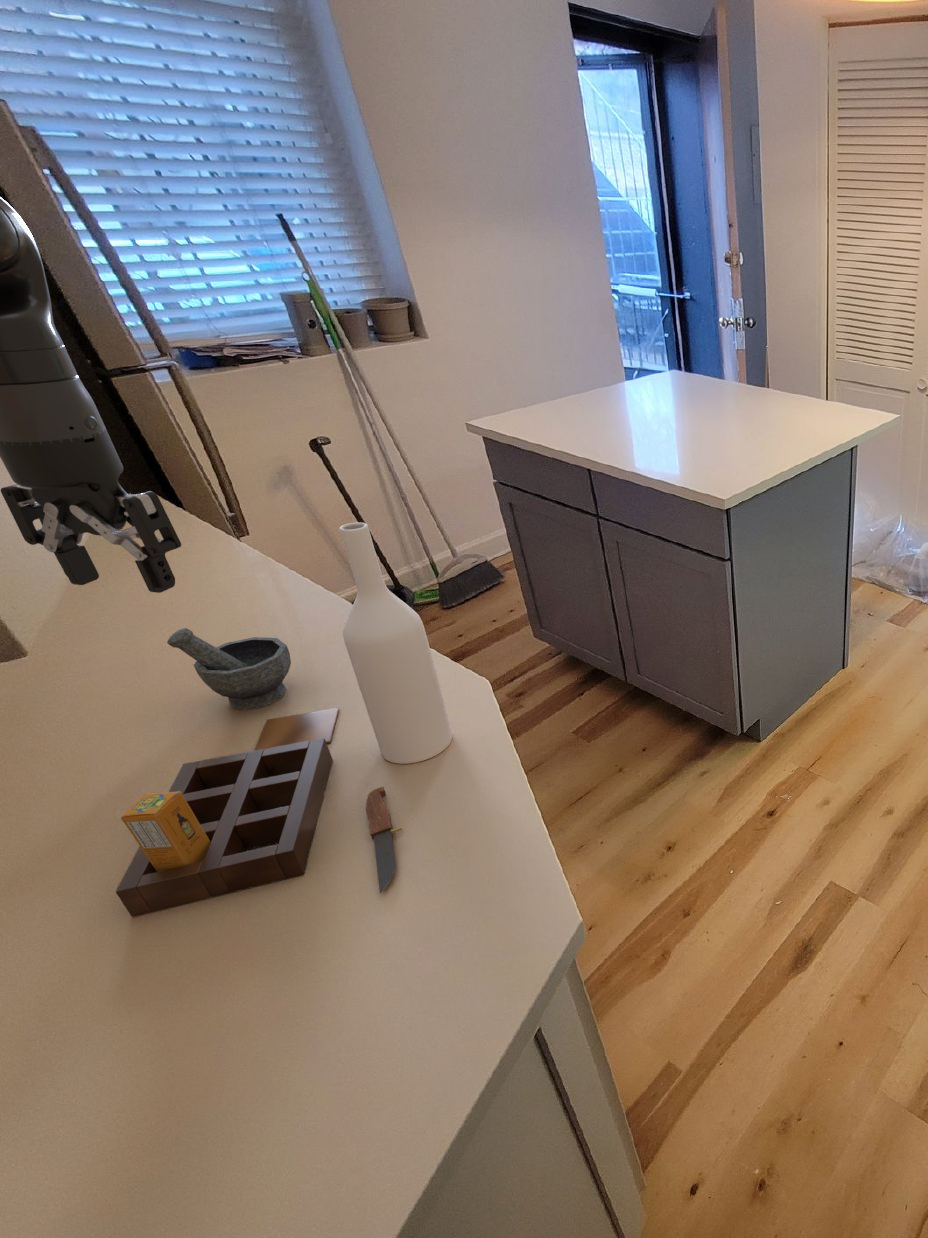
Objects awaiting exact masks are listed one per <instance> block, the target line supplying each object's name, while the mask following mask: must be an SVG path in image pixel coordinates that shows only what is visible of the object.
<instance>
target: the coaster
mask: <svg viewBox="0 0 928 1238" xmlns="http://www.w3.org/2000/svg"><path fill="white" fill-rule="evenodd" d="M339 713H340V707H334V708H328V709H327V708H326V709H322V710H315V711H309V712H304V713H298V714H297V713H296V714H292V715H285V716H280V717H275V718H274V717H273V718H269V719H266V721H265V724H264V726H263V729H262V731H261V733H260V736H259V738H258V740H257V743H256V746H255V748H254V750H253V751H256V750H261V749H267V748H272V747H278V746H283V745H289V744H294V743H299V742H305V741H311V740H316V739H322V738H325V741H326V743H327V745H330V744H331V743H332V739H333V735H334V732H335V728H336V724H337V720H338V717H339Z"/></svg>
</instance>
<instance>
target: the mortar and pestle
mask: <svg viewBox="0 0 928 1238" xmlns="http://www.w3.org/2000/svg"><path fill="white" fill-rule="evenodd" d="M167 644H168V645H169V646H170V647H172V648H176V649H179V650H181V652H184V653H185V654H186V655H188V656H189V657H190V658H192V659H194V660H195V662H194V663H193V667H194V669H195V671H196V674H197V675H198V676H199V678H200V679H201V680H202V682H203V683H204V684H205V685H206V686H207V687H208V688H209V689H210V690H212V691H213V692H215V693H216V694H218V695H220V696H221V697H224V698H228V701H229V704H230V705H231V706H232V707H233V708H234V709H236V710H253V709H258V708H262V707H266V706H269V705H271V704H273V703H275V702H276V701H279V700H280V699H282V698H283V697H284V696H285V694H286V692H287V688H286V686H285V684H284V683H283V681H284V680H285V679H286V677H287V675H288V674H289V672H290V671H289V670H290V668H291V664H292V661H291V659H292V658H291V653H290V650H289V648H288V645H287V644H286V643H285V642H284V641H282V640H281V639H279V638H278V637H262V636H261V637H260V636H259V637H258V636H254V637H253V636H252V637H249V638H243V639H238V640H233V641H229V642H226V643H223V644H221V645H218V646H214V645H213V644H211V643H209V642H207V641H206V640H204V639H202V638H201V637H198V636H196V635H195V634H194V633H193V631H192V630H191V629H189V628H188V627H182V628H180V629H178V630H176V631H175V632H173V633H172V634H171V635H170V636H169V638H168V639H167Z"/></svg>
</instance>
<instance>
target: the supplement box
mask: <svg viewBox="0 0 928 1238" xmlns="http://www.w3.org/2000/svg"><path fill="white" fill-rule="evenodd" d="M120 819H121V820H122V822H123V823H124V825H125V826H126V828H127V829H128V831H129V832H130V834H131V835H132V836H133V838H134V840H135V842H136V843H137V845H138V846H139V847H141V849H142V850H143V852H144V853H145V855H146V856H147V858H148V859H149V861H150V862H151V864H152V865H153V866H154V868H155V869H156V871H157V872H160V871H164V870H168V869H173V868H177V867H181V866H186V865H190V864H194V863H199V862H203V860H204V857H205V855H206V853H207V850H208V848H209V845H210V843H211V842H210V840H209V839H208V837H207V835H206V833H205V832H204V830H203V828H202V827H201V825H200V823H199V822H198V820H197V818H196V817H195V815H194V813H193V811H192V810H191V808H190V806H189V805H188V803H187V801H186V800H185V798H184V796H183V795H182V793H181V792H180V791H178V792H169V791H167V792H166V791H165V792H164V791H163V792H153V793H152V792H151V793H144V794H143V795H142V796H141V797H140V798H139V799H138V800H137V801H136V802H135V803H134V804H133V805H132V806H130V808H128V809H127V810H126V811H125V812H124V813H123V814H122V815H121V816H120Z"/></svg>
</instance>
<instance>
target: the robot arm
mask: <svg viewBox="0 0 928 1238" xmlns="http://www.w3.org/2000/svg"><path fill="white" fill-rule="evenodd" d="M52 307H53V306H52V301H51V295H50V291H49V285H48V281H47V276H46V273H45V268H44V264H43V260H42V257H41V254H40V251H39V248H38V245H37V243H36V241H35V238H34V237H33V235H32V233H31V231H30V229H29V228H28V226H27V225H26V223H25V222H24V220H23V219H22V217H21V216H20V215H19V213H18V212H17V211H16V210H15V209H14V208H13V207H12V206H11V205H10V204H9V203H8V202H7V201H6V200H4V199H3V198H2V197H0V459H1V461H2V463H3V466H4V467H5V469H6V471H7V473H8V475H9V476H10V478H11V480H12V481H13V483H15V484H11V485H8V486H3V487H1V488H0V494H1V495H2V497H3V499H4V501H5V503H6V505H7V507H8V510H9V511H10V513H11V516H12V518H13V520H14V522H15V524H16V526H17V527H18V530H19V532H20V534H21V536H22V538H23V539H24V541H25V542H26V543H27V544H29V545H32V546H35V545H42V546H43V547H44V549H45V550H46V551H48V552H49V553H53V554H54V556H55V559H56V560H57V563H58V564H59V565H60V567H61V569H62V571H63V573H64V575H65V576H66V577H67V579H68V580H69V582H70V583H71V584H72V585H77V586H85V585H87V584H89V583H92V582H94V581H97V580H99V577H100V574H99V572H98V570H97V568H96V565H95V564H94V562H93V560H92V557H91V556H90V554H89V552H88V550H87V547H86V546H85V545H81V543H82V539H83V536H84V534H86V533H88V534H91V535H93V536H101V537H103V538H104V539H105V540H107V542H109V543H110V544H112V545H115V546H116V545H117V546H120V547H122V548H123V549H124V550H125V551H127V553H129V554H130V555H131V556H132V557H134V558H135V560H134V562H135V565H136V566H137V568H138V571H139V573H140V575H141V577H142V579H143V581H144V583H145V586H146V588H147V590H148V591H149V592H150V593H156V594H160V593H163V592H166V591H167V590H170V589H172V588H174V587H175V586H176V577H175V575H174V573H173V570H172V568H171V566H170V563H169V561H168V559H167V557H166V553H168V552H171V551H173V550H177V549H179V548H181V547H182V542H181V539H180V537H179V536H178V533H177V532H176V530H175V528H174V526H173V524H172V521H171V519H170V518H169V515H168V514H167V512H166V510H165V507H164V505H163V503H162V501H161V500H160V497H159V495H157V493H156V492H154V491H151V490H149V491H146V492H141V493H136V494H133V493H132V494H131V493H127V491H125V489H124V488H123V487H122V486H121V484H120V482H119V478H120V475H122V474H123V472H124V465H123V463H122V462H121V459H120V457H119V454H118V452H117V450H116V447H115V446H114V444H113V443H114V442H113V441H112V438H111V437H110V435H109V432H108V430H107V427H106V426H105V424H104V421H103V419H102V417H101V415H100V412H99V410H98V408H97V406H96V404H95V402H94V399H93V398H92V396H91V394H90V393H89V392H88V390H87V388H86V387H85V386H84V383H83V381H82V380H81V378H80V377H79V375H78V372H77V370H76V368H75V366H74V364H73V361H72V358H71V357H70V354H69V353H68V350H67V348H66V346H65V345H64V343H65V342H64V341H63V340H62V338H61V335H60V333H59V332H58V330H57V329H56V325H55V322H54V316H53V308H52ZM36 520H39V522H40V525H41V528H39V529H37V528H36V526H35V525H34V521H36ZM127 523H128V525H130V526H131V527H128V528H125V529H124V527H125V526H126V524H127ZM156 531H159V533H160V535H161V537H162V539H160V538H159V537H158V536H156ZM135 539H140V540H141V543H142V544H143V546H141V545H140V544H139V543H138V542H137V541H136V540H135Z"/></svg>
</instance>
